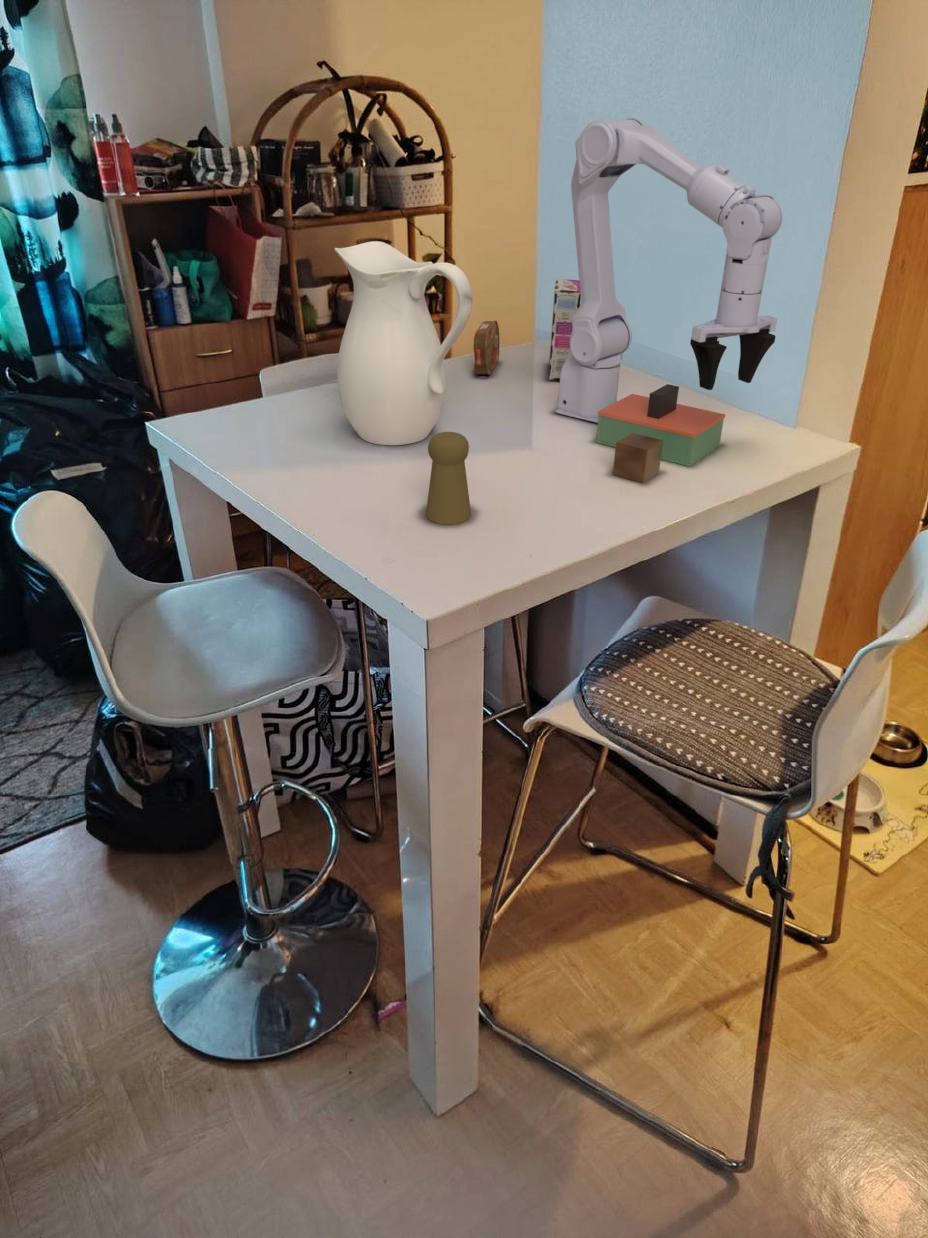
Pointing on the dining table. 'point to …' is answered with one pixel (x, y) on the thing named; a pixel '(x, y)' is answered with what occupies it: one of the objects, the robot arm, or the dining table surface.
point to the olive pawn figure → (448, 479)
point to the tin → (486, 347)
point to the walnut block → (637, 457)
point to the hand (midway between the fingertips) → (725, 384)
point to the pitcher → (394, 344)
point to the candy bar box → (562, 324)
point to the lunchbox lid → (662, 412)
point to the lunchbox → (673, 444)
